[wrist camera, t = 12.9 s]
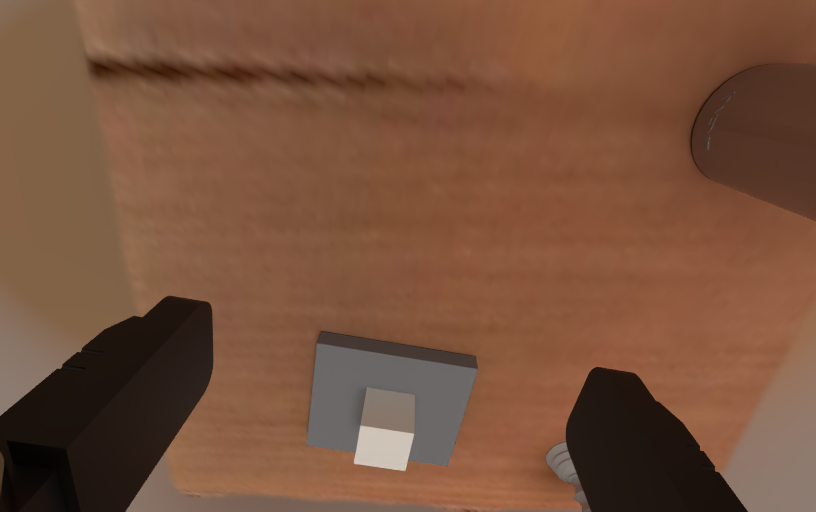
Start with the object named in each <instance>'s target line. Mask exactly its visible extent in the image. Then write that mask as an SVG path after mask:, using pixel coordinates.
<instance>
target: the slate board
mask: <svg viewBox="0 0 816 512" xmlns="http://www.w3.org/2000/svg"><path fill="white" fill-rule="evenodd" d="M477 371H478V367H477V361H476V356H470V355H464V354H458V353H451V352H445V351H439V350H433V349H427V348H421V347H415V346H408V345H402V344H396V343H390V342H384V341H378V340H372V339H365V338H359V337H353V336H347V335H341V334H335V333H329V332H322V331H321V334H320V337H319V339H318V342H317V349H316V358H315V368H314V378H313V387H312V397H311V407H310V416H309V426H308V435H307V445H308V446H314V447H321V448H328V449H334V450H341V451H348V452H354V453H356V449H357V443H358V437H359V431H360V425H361V419H362V413H363V407H364V402H365V396H366V390H367V387H368V388H374V389H381V390H387V391H394V392H400V393H407V394H413V395H415V425H414V437H413V441H412V445H411V449H410V453H409V458H408V461H414V462H421V463H428V464H434V465H441V466H448V464H449V461H450V458H451V455H452V451H453V448H454V445H455V442H456V438H457V435H458V432H459V429H460V426H461V422H462V419H463V416H464V413H465V409H466V406H467V403H468V400H469V396H470V393H471V390H472V387H473V384H474V380H475V377H476V374H477Z"/></svg>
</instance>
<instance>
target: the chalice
mask: <svg viewBox="0 0 816 512" xmlns="http://www.w3.org/2000/svg"><path fill="white" fill-rule="evenodd" d="M546 462H547V464H548V466H549V467H550V468H551V469H552V470H553V472H555V473H556V474H557V476H558V477H559V478H560V479H561V480H563V481H565V482H567V483H571V484H573V485H574V487H575V492H576V494H575V496H574V499H575V500H576V501H578V502H579V503H580V504H581V506H582V512H591V510H590V507H589V504H588V502H587V499H586V497H585V494H584V491H583V489H582V486H581V484H580V481H579V478H578V476H577V473H576V470H575V468H574V465H573V463H572V460H571V457H570V455H569V452H568V449H567V444H566V442H564V443H561V444H558V445H556V446H554V447H553V448H552V449H551V450H550V451H549V452H548V454H547V456H546Z"/></svg>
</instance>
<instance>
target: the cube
mask: <svg viewBox="0 0 816 512" xmlns="http://www.w3.org/2000/svg"><path fill="white" fill-rule="evenodd" d="M414 425H415V395H413V394H407V393H400V392H394V391H387V390H381V389H374V388H368V387H367V390H366V396H365V402H364V407H363V413H362V419H361V425H360V431H359V437H358V443H357V449H356V454H355V460H354V464H361V465H368V466H374V467H381V468H388V469H395V470H402V471H405V470H406V466H407V462H408V458H409V453H410V449H411V445H412V441H413V437H414Z"/></svg>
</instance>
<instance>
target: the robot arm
mask: <svg viewBox="0 0 816 512" xmlns="http://www.w3.org/2000/svg"><path fill="white" fill-rule="evenodd" d="M691 143H692V154H693V157H694V160H695V162H696V165H697V166H698V167H699V169H700V170H701V172H702V173H703V174H705V175H706V176H707V177H708V178H710V179H711V180H714V181H716V182H718V183H721V184H723V185H726V186H728V187H731V188H733V189H736V190H738V191H741V192H743V193H746V194H748V195H750V196H753V197H756V198H758V199H761V200H763V201H766V202H768V203H771V204H773V205H776V206H779V207H781V208H784V209H786V210H789V211H791V212H794V213H796V214H799V215H802V216H804V217H807V218H809V219H812V220H814V221H816V64H768V65H762V66H757V67H753V68H750V69H748V70H746V71H744V72H741V73H739V74H737V75H736V76H734V77H733V78H731V79H730V80H728V81H727V82H725V83H724V84H723V85H722V86H721V87H720V88H719V89H717V90H716V91H715V92H714V93H713V94H712V96H711V97H710V98H709V100H708V101H707V102H706V103H705V105H704V106H703V108H702V110H701V112H700V114H699V115H698V117H697V120H696V123H695V126H694V129H693V134H692V142H691ZM212 370H213V325H212V308H211V305H210V303H208V302H205V301H199V300H193V299H187V298H180V297H174V296H167V297H165V298H164V299H162V300H161V301H160V302H159V303H158V304H157V305H156V306H155V307H154V308H152V309H151V310H150V311H149V312H148V313H147V314H146V315H145V316H144V317H137V316H133V317H131V318H129V319H127V320H124V321H122V322H120V323H118V324H115V325H114V326H111V327H109V328H107V329H105V330H104V331H102V332H101V333H100V334H99V335H97V336H96V337H95V338H94V339H93V340H91V341H90V342H89V343H88V344H86V345H85V346H84V347H83V348H82V351H81V352H77V353H76V354H74V355H73V356H72V357H71V358H70V359H68V360H67V361H66V362H65V363H64V364H63V366H62V368H61V369H56V370H55V371H54V372H53V373H51V374H50V375H49V376H48V377H47V378H45V379H44V380H43V381H42V382H41V383H39V384H38V385H37V386H36V387H35V388H33V389H32V390H31V391H30V392H29V393H28V394H26V395H25V396H24V397H23V398H21V399H20V400H19V401H18V402H17V403H15V404H14V405H13V406H12V407H10V408H9V409H8V410H7V411H6V412H4V413H3V414H2V415H1V416H0V512H125V511H126V510H127V508H128V507H129V505H130V504H131V502H132V501H133V499H134V498H135V496H136V495H137V493H138V492H139V490H140V489H141V487H142V486H143V484H144V483H145V481H146V480H147V478H148V477H149V475H150V474H151V472H152V471H153V469H154V468H155V466H156V465H157V463H158V462H159V460H160V459H161V457H162V456H163V454H164V453H165V451H166V450H167V448H168V447H169V445H170V444H171V442H172V441H173V439H174V438H175V436H176V435H177V433H178V432H179V430H180V429H181V427H182V426H183V424H184V423H185V421H186V420H187V418H188V417H189V415H190V414H191V412H192V411H193V409H194V408H195V406H196V405H197V403H198V402H199V400H200V399H201V397H202V396H203V394H204V392H205V390H206V389H207V386H208V384H209V381H210V378H211V374H212ZM566 444H567V449H568V452H569V455H570V457H571V460H572V463H573V465H574V468H575V470H576V473H577V476H578V478H579V481H580V484H581V486H582V489H583V491H584V494H585V497H586V499H587V502H588V504H589V507H590V510H591V512H748V511H747V510H746V508H745V507H744V506H743V504H742V503H741V502H740V500H739V499H738V498H737V496H736V495H735V493H734V492H733V491H732V489H731V488H730V487H729V485H728V484H727V483H726V481H725V480H724V478H723V477H722V476H721V474H720V473H719V472H715V466H714V465H713V463H712V462H711V461H710V459H709V458H708V457H707V455H706V454H705V453H704V451H700V446H699V444H698V443H697V442H696V440H695V439H694V438H693V436H692V435H691V433H690V432H689V431H688V429H687V428H686V427H685V425H684V424H683V423H682V422H681V421H680V420H679V419H678V418H677V417H675V416H674V415H673V414H672V413H671V412H670V411H669V410H667V409H666V408H665V407H664V406H663V405H662V404H661V403H660V402H657V401H655V399H654V398H653V396H652V395H651V394H650V392H649V391H648V389H647V388H646V386H645V385H644V384H643V382H642V381H641V379H640V378H639V377H638V376H637V375H636V374H634V373H632V372H625V371H619V370H613V369H607V368H601V367H595V368H593V369H592V370H591V371H590V373H589V375H588V377H587V379H586V381H585V383H584V386H583V388H582V390H581V392H580V394H579V397H578V399H577V401H576V403H575V406H574V408H573V410H572V412H571V414H570V417H569V419H568V422H567V427H566Z"/></svg>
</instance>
